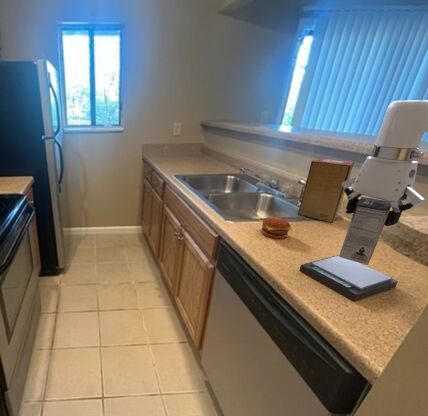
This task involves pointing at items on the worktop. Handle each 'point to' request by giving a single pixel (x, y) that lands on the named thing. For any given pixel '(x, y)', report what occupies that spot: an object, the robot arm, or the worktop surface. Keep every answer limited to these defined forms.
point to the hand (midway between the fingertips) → (368, 218)
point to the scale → (348, 277)
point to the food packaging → (324, 189)
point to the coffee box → (365, 229)
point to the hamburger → (275, 227)
